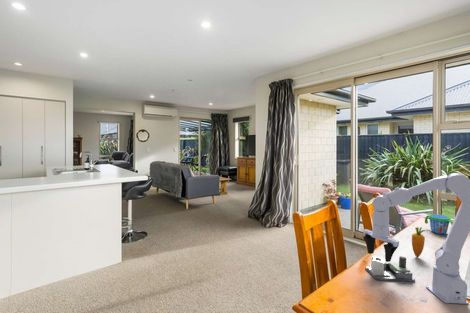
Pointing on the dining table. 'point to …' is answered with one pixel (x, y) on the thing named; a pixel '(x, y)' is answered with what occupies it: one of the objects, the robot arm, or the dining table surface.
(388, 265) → the press
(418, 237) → the carrot
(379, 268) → the block
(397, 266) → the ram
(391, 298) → the dining table surface
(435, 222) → the snack cup
